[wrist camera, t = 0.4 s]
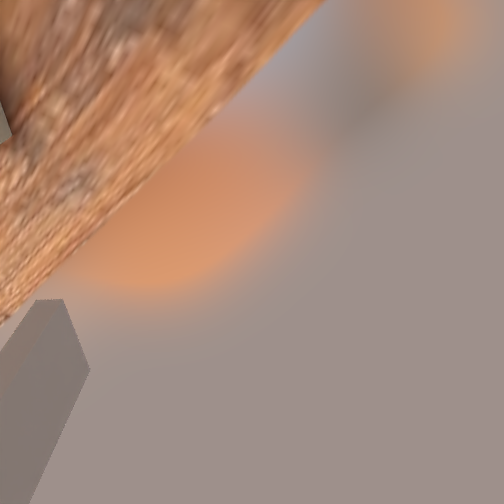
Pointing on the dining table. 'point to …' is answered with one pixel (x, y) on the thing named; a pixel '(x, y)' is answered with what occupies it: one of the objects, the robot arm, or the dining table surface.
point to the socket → (4, 126)
